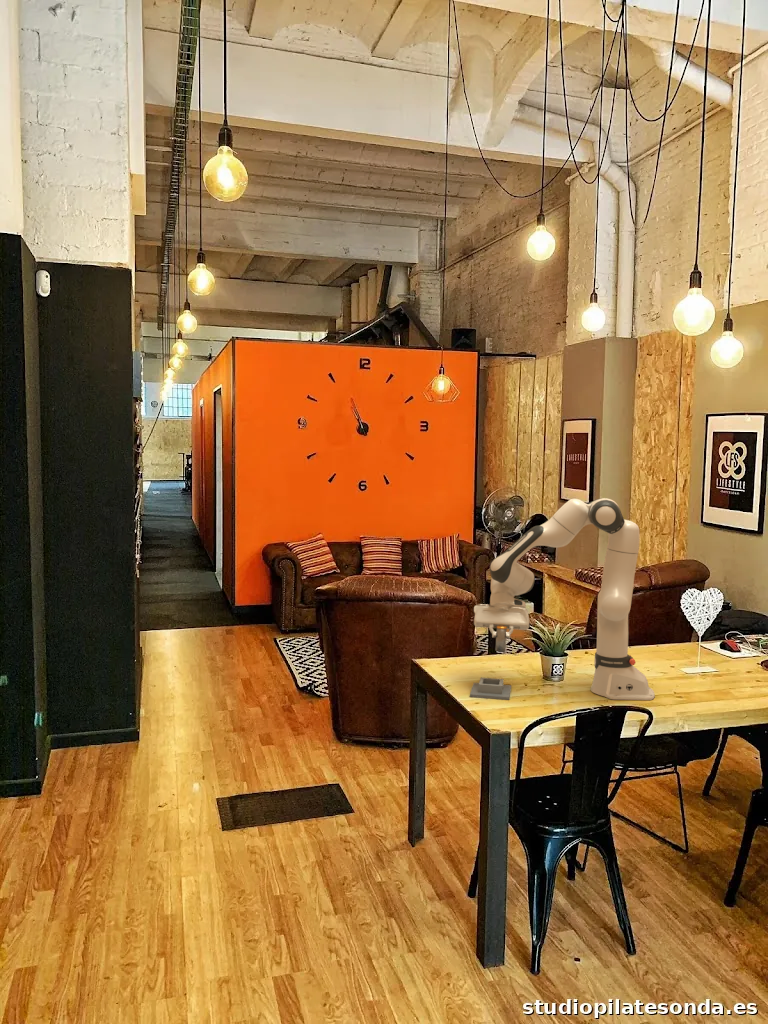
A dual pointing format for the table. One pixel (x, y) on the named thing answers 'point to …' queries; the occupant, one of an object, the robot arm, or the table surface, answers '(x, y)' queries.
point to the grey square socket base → (491, 689)
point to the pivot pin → (501, 638)
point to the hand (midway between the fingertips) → (501, 637)
